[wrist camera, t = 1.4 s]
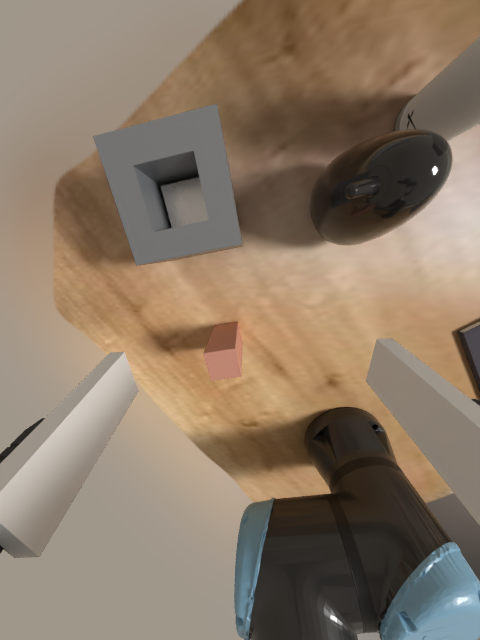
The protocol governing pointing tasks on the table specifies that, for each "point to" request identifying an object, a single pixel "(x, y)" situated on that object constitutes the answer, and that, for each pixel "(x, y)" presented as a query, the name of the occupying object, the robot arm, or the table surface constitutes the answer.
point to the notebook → (472, 348)
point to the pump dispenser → (379, 185)
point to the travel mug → (447, 99)
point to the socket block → (165, 168)
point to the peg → (224, 352)
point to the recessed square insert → (185, 202)
